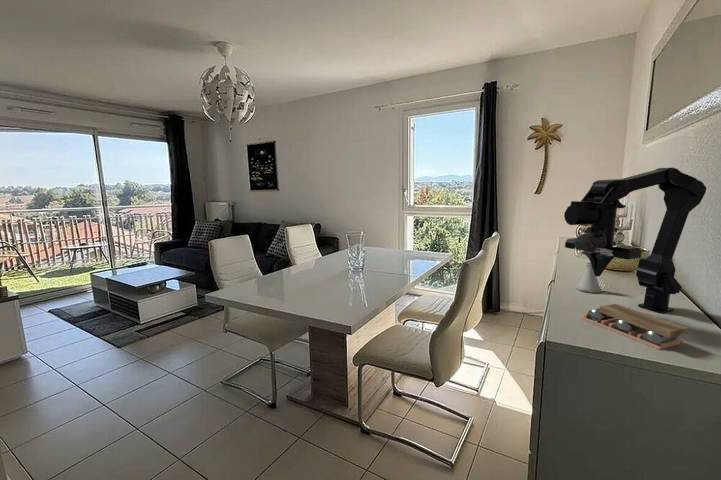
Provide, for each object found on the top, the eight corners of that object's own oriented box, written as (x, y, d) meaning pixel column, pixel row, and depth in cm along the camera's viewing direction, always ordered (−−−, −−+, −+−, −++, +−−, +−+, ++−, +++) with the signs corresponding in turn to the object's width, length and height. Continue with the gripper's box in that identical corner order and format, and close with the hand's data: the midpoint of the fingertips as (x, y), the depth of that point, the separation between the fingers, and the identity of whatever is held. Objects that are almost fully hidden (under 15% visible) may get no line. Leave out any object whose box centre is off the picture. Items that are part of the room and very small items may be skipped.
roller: (667, 343, 85) (681, 338, 82) (648, 348, 82) (662, 343, 80) (657, 329, 86) (671, 325, 84) (639, 334, 84) (653, 329, 81)
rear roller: (602, 313, 100) (607, 304, 99) (613, 321, 97) (619, 311, 96) (585, 316, 98) (590, 307, 96) (596, 324, 95) (601, 315, 94)
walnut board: (615, 309, 96) (615, 303, 96) (687, 334, 80) (688, 328, 80) (599, 311, 94) (599, 306, 94) (669, 338, 78) (670, 331, 78)
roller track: (603, 314, 101) (603, 310, 101) (683, 343, 83) (684, 338, 83) (580, 318, 98) (581, 314, 98) (659, 349, 80) (660, 345, 80)
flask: (591, 294, 118) (594, 266, 116) (572, 288, 125) (574, 262, 123) (605, 292, 121) (608, 264, 119) (585, 286, 127) (588, 260, 126)
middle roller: (628, 320, 93) (638, 314, 91) (638, 332, 91) (648, 325, 88) (610, 324, 91) (621, 318, 88) (620, 336, 89) (631, 330, 86)
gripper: (554, 222, 104) (549, 271, 107) (617, 230, 87) (611, 288, 89) (580, 220, 108) (575, 267, 110) (646, 227, 90) (638, 283, 93)
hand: (597, 276), depth 101 cm, fingers closed
